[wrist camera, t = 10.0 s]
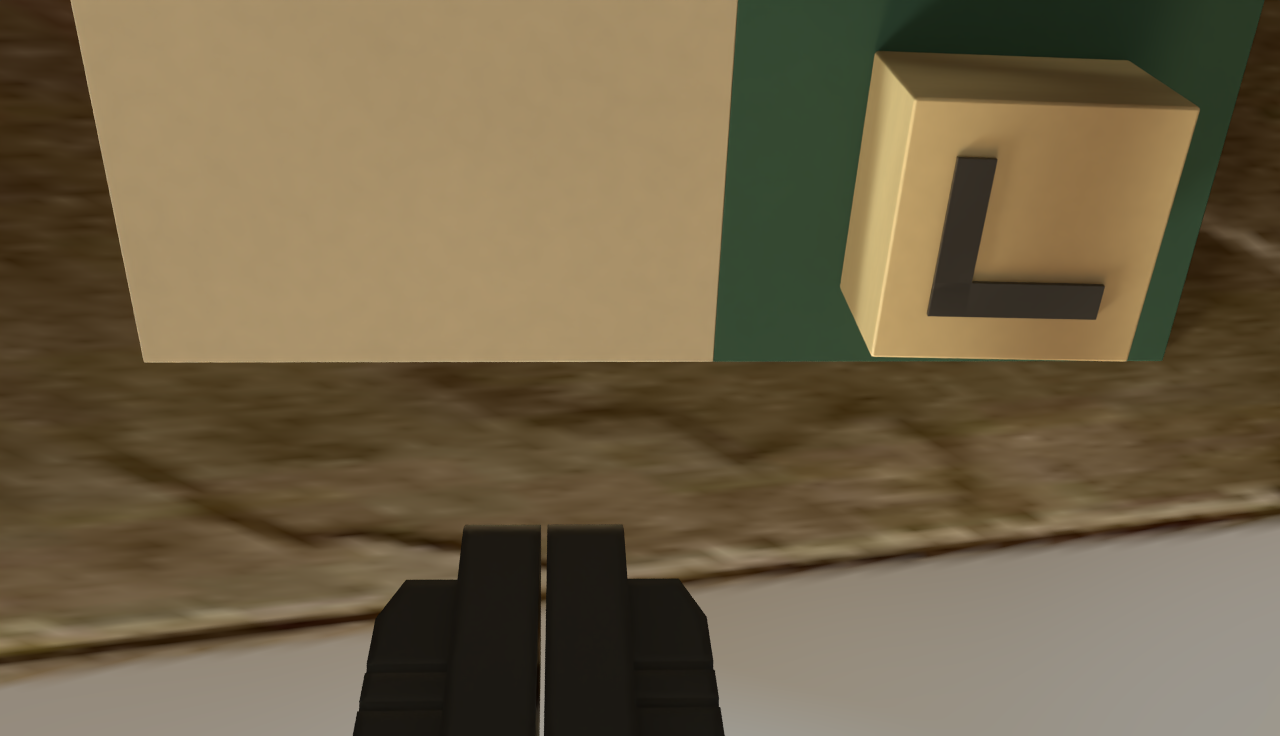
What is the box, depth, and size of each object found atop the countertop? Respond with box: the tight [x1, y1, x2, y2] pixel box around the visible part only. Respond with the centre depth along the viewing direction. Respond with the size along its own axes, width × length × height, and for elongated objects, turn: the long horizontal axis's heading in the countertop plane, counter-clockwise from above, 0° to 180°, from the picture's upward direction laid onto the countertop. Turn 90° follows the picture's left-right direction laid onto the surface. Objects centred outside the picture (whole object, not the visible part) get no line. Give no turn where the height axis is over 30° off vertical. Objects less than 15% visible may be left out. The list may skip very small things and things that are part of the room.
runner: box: [71, 0, 1264, 362], centre depth 24 cm, size 22×9×1 cm, turn 88°
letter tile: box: [840, 51, 1200, 361], centre depth 23 cm, size 5×5×3 cm
